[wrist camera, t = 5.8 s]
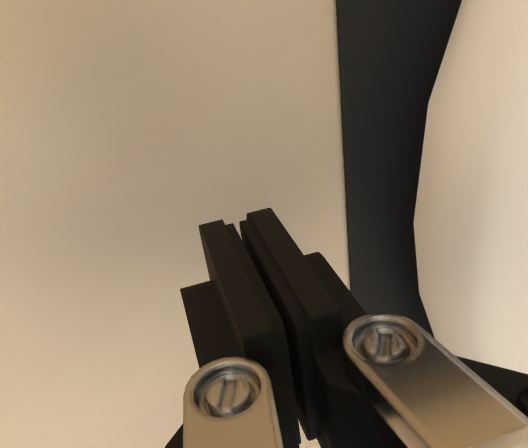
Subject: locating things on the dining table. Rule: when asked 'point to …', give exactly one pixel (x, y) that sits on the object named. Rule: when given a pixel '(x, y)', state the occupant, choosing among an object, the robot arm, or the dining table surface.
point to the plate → (478, 188)
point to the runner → (387, 140)
